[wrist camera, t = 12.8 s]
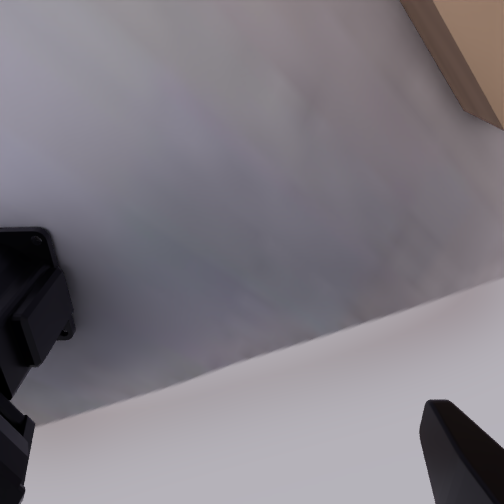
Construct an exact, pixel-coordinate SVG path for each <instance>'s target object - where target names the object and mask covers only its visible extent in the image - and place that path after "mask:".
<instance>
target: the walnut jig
mask: <svg viewBox="0 0 504 504" xmlns="http://www.w3.org/2000/svg"><path fill="white" fill-rule="evenodd" d="M400 2H401V4H402V5H403V7H404V9H405V10H406V12H407V14H408V16H409V17H410V19H411V21H412V22H413V24H414V26H415V28H416V29H417V31H418V33H419V34H420V36H421V38H422V40H423V41H424V43H425V45H426V46H427V48H428V50H429V52H430V53H431V55H432V57H433V58H434V60H435V62H436V64H437V65H438V67H439V69H440V70H441V72H442V74H443V76H444V77H445V79H446V81H447V82H448V84H449V86H450V88H451V89H452V91H453V93H454V94H455V96H456V98H457V100H458V101H459V103H460V105H461V106H462V108H463V110H464V111H466V112H468V113H470V114H472V115H474V116H476V117H478V118H480V119H482V120H484V121H486V122H488V123H490V124H492V125H494V126H496V127H498V128H500V129H502V130H504V0H400Z"/></svg>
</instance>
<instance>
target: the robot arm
mask: <svg viewBox="0 0 504 504" xmlns="http://www.w3.org/2000/svg"><path fill="white" fill-rule="evenodd" d="M35 236H38V237H39V238H41V240H42V242H41V241H38V240H36V239H35ZM72 313H73V307H72V303H71V299H70V295H69V292H68V288H67V284H66V281H65V277H64V273H63V271H62V270H61V269H60V268H59V267H58V263H57V259H56V256H55V252H54V248H53V245H52V241H51V237H50V235H49V233H48V232H47V231H46V230H44V229H42V228H38V227H32V228H0V504H21V502H22V500H23V498H24V494H25V487H24V481H25V475H26V470H27V465H28V460H29V454H30V449H31V444H32V438H33V433H34V428H35V423H34V422H33V421H32V420H31V419H30V418H29V417H28V416H27V415H23V414H22V413H21V412H20V411H19V410H18V409H17V408H16V407H15V406H14V405H13V404H12V403H11V402H10V401H9V400H11V399H12V397H13V396H14V394H15V393H16V391H17V389H18V388H19V386H20V385H21V383H22V381H23V380H24V378H25V377H26V375H27V373H28V372H29V370H30V369H31V367H39V366H40V365H41V364H42V363H43V361H44V360H45V358H46V356H47V355H48V353H49V351H50V350H51V348H52V346H53V345H54V343H55V341H56V340H69V339H71V338H72V336H73V334H74V332H75V325H74V321H73V317H72ZM63 329H65V330H67V332H65V331H63ZM419 433H420V440H421V445H422V449H423V454H424V458H425V462H426V466H427V470H428V474H429V478H430V482H431V486H432V491H433V495H434V499H435V503H436V504H504V449H503V448H502V447H501V446H500V445H499V444H498V443H497V442H495V440H493V439H492V438H491V437H490V436H489V435H488V434H487V433H486V432H484V431H483V430H482V429H481V428H480V427H479V426H478V425H477V424H475V423H474V422H473V421H472V420H471V419H470V418H469V417H468V416H467V415H465V414H464V413H463V412H462V411H461V410H460V409H459V408H458V407H457V406H455V405H454V404H453V403H452V402H450V401H449V400H428V401H427V402H426V404H425V407H424V411H423V416H422V420H421V424H420V431H419Z"/></svg>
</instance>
